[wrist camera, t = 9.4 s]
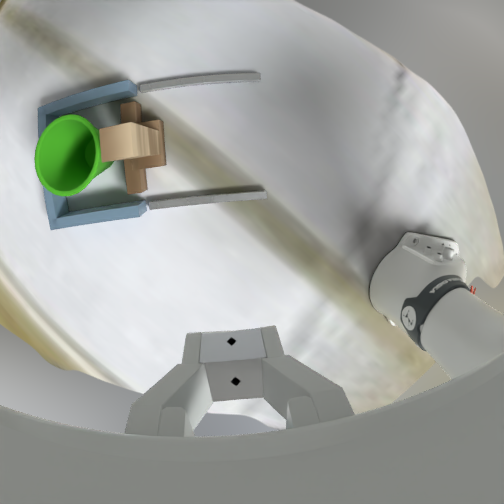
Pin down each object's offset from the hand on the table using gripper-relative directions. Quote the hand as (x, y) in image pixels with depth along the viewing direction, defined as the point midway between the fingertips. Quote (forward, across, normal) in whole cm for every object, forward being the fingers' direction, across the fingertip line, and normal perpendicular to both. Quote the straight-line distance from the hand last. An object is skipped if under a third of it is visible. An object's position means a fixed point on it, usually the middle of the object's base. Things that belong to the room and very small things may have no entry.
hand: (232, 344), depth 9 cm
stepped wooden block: (+31, +10, -8) cm, 33 cm away
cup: (+31, +17, -8) cm, 36 cm away
